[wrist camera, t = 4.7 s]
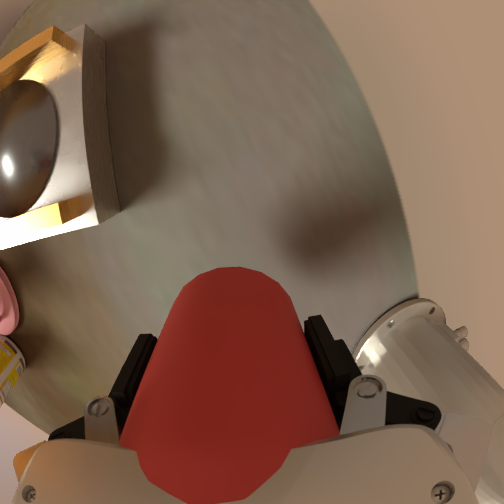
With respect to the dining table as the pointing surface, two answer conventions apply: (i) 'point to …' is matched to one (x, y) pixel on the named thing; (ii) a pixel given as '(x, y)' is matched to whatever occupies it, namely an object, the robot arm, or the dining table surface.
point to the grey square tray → (54, 137)
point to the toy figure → (7, 306)
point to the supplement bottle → (9, 366)
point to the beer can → (226, 390)
